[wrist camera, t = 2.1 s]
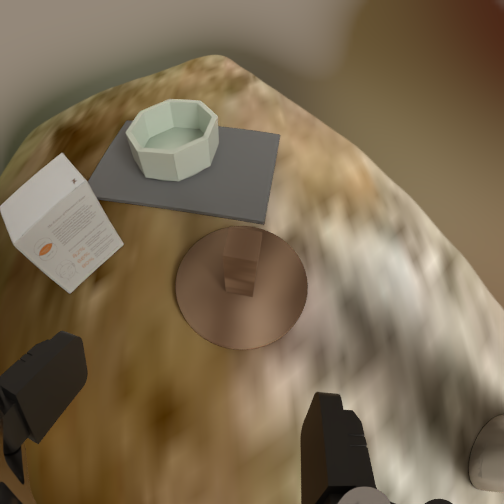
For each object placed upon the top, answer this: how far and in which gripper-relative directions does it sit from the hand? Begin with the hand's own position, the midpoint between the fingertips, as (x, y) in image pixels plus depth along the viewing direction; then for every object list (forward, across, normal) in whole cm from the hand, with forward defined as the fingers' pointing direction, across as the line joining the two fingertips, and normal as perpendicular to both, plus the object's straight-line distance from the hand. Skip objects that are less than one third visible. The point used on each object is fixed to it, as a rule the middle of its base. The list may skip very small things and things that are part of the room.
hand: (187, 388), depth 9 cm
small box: (+19, +17, +4) cm, 26 cm away
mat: (+29, +10, -6) cm, 31 cm away
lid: (+19, 0, +4) cm, 20 cm away
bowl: (+29, +11, -7) cm, 32 cm away
